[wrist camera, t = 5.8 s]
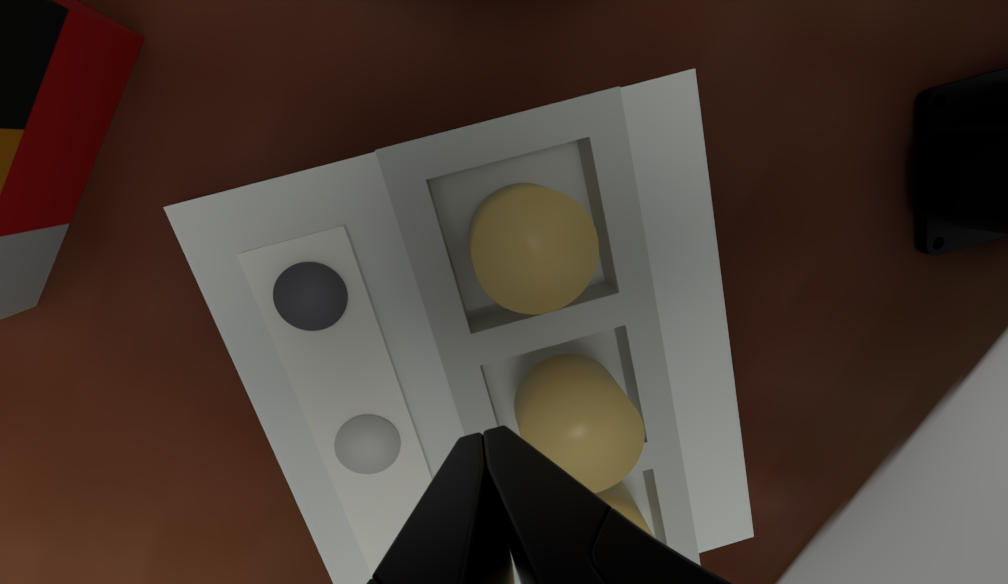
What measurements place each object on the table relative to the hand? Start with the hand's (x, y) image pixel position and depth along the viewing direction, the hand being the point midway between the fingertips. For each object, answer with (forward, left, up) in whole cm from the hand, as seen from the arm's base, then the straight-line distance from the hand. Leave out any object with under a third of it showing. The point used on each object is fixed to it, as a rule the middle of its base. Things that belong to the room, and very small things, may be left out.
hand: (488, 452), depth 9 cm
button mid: (-2, +4, -8) cm, 10 cm away
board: (0, +4, -11) cm, 11 cm away
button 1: (-2, -2, -9) cm, 10 cm away
